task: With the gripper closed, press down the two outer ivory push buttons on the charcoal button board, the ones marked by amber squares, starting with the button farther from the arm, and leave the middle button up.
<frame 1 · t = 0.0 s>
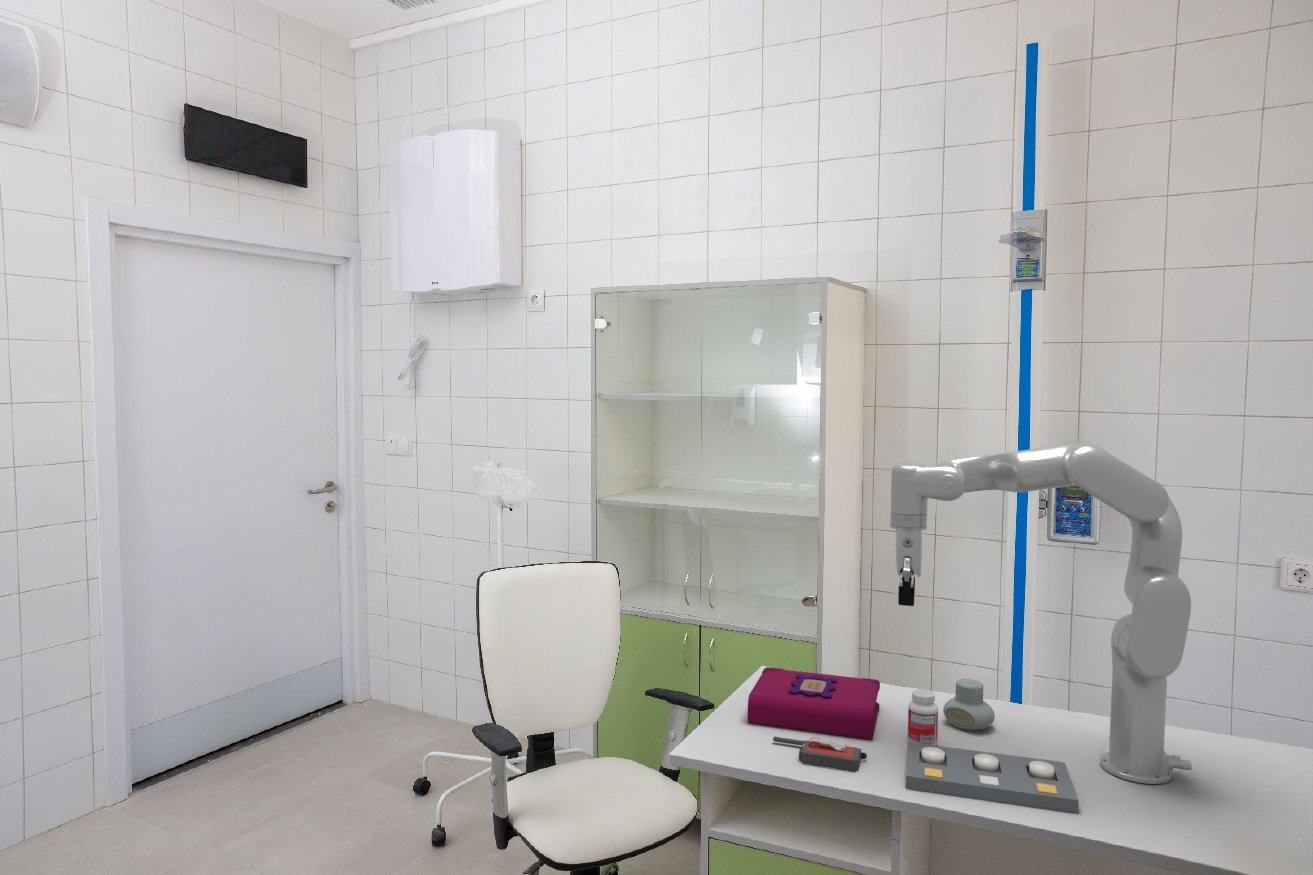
hand: (906, 599, 180), 31 cm above the table, tool pointing down, fingers open, 9 cm apart
walkie-talkie: (816, 759, 174), on the table
near button: (1041, 770, 162), point 3 cm above the table, slide at 0.0 cm
button board: (986, 781, 164), on the table
book: (815, 717, 196), on the table
far button: (933, 755, 168), point 3 cm above the table, slide at 0.0 cm
middle button: (986, 762, 165), point 3 cm above the table, slide at 0.0 cm
air freshener: (968, 726, 190), on the table
pill bottle: (922, 743, 181), on the table
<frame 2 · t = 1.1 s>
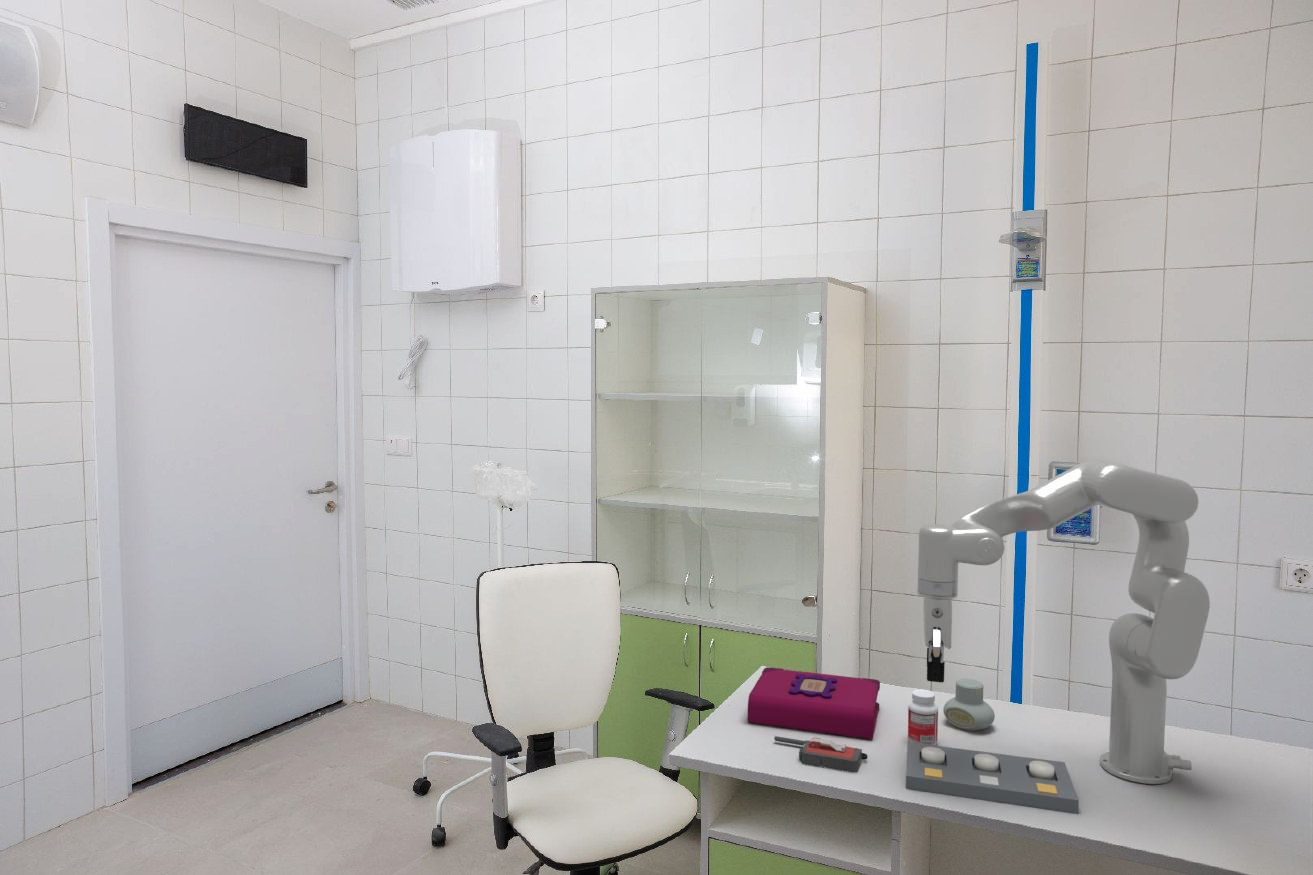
hand: (935, 673, 167), 20 cm above the table, tool pointing down, fingers open, 7 cm apart
nothing on the table moved.
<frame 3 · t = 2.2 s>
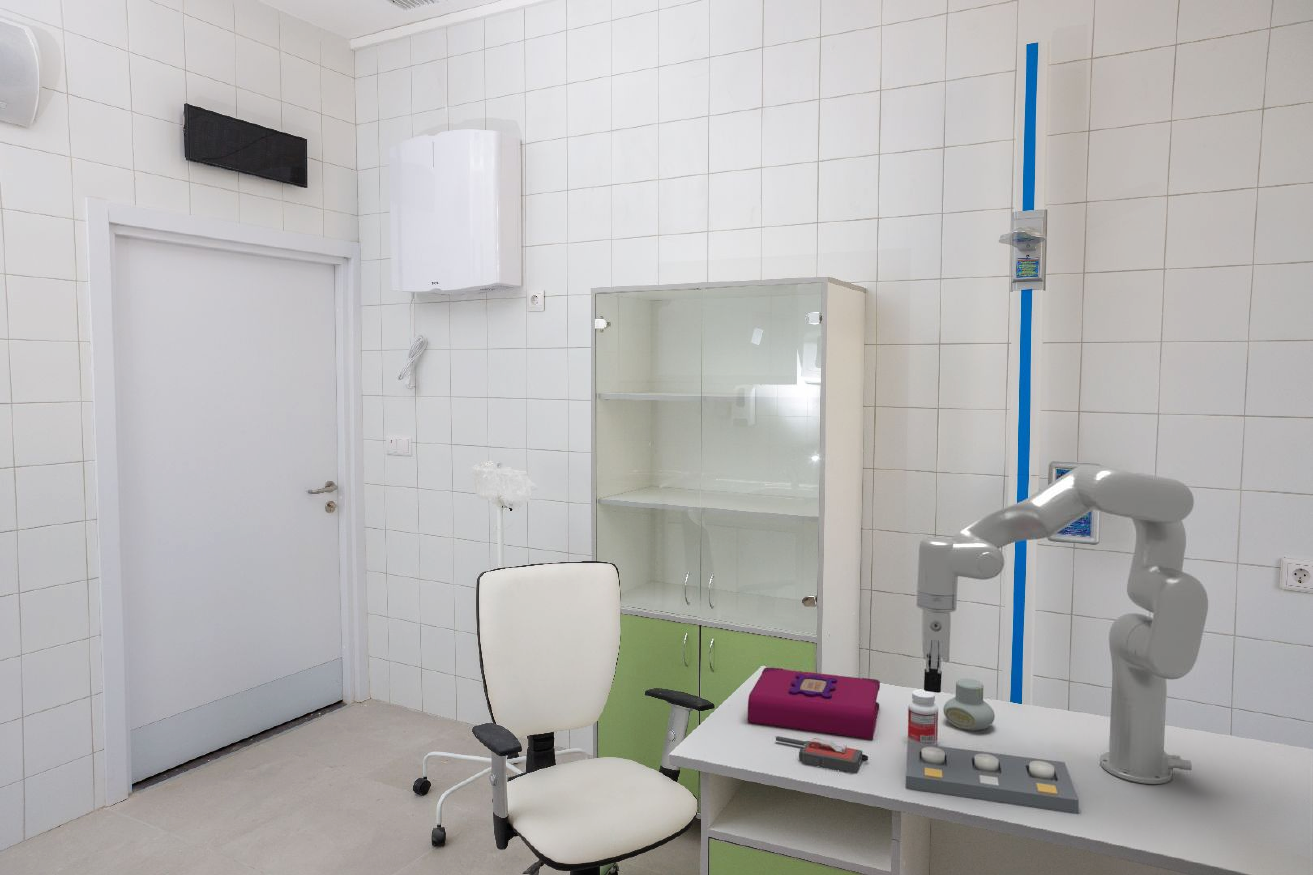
hand: (932, 690, 167), 16 cm above the table, tool pointing down, fingers closed
nothing on the table moved.
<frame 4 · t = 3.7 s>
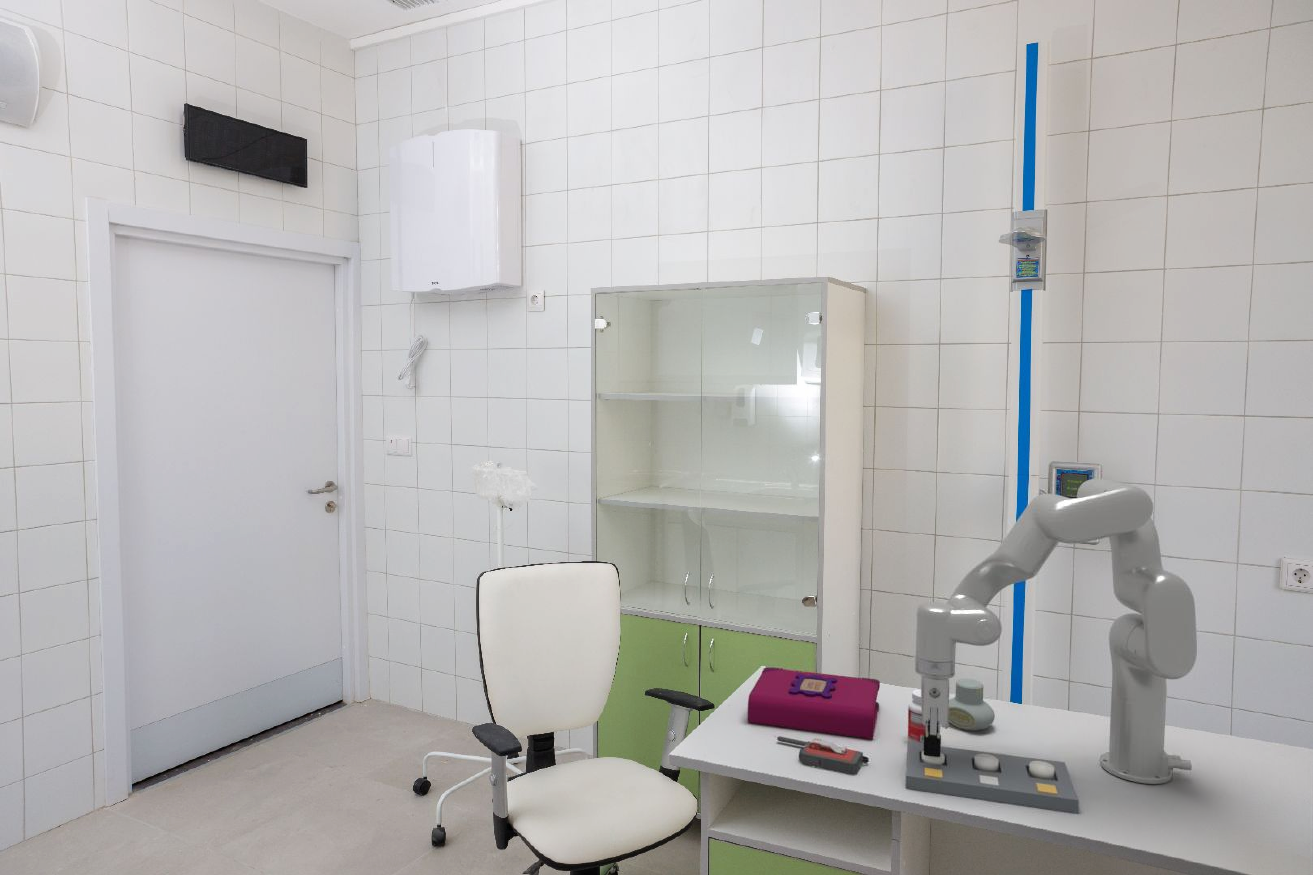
hand: (931, 754, 168), 3 cm above the table, tool pointing down, fingers closed
far button: (932, 758, 168), point 2 cm above the table, slide at 0.6 cm, touching gripper
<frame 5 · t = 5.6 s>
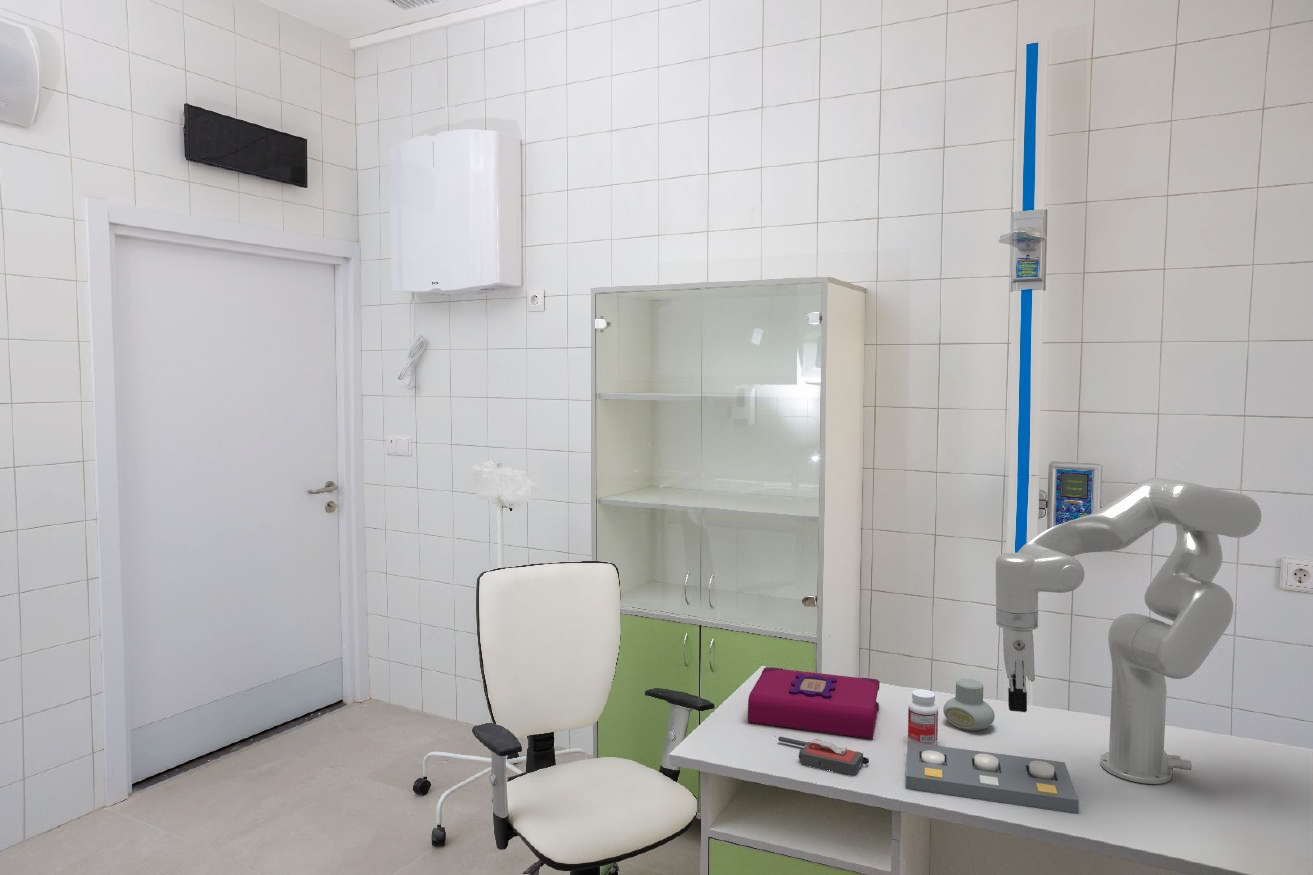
hand: (1017, 709, 163), 14 cm above the table, tool pointing down, fingers closed
far button: (932, 759, 168), point 2 cm above the table, slide at 0.7 cm
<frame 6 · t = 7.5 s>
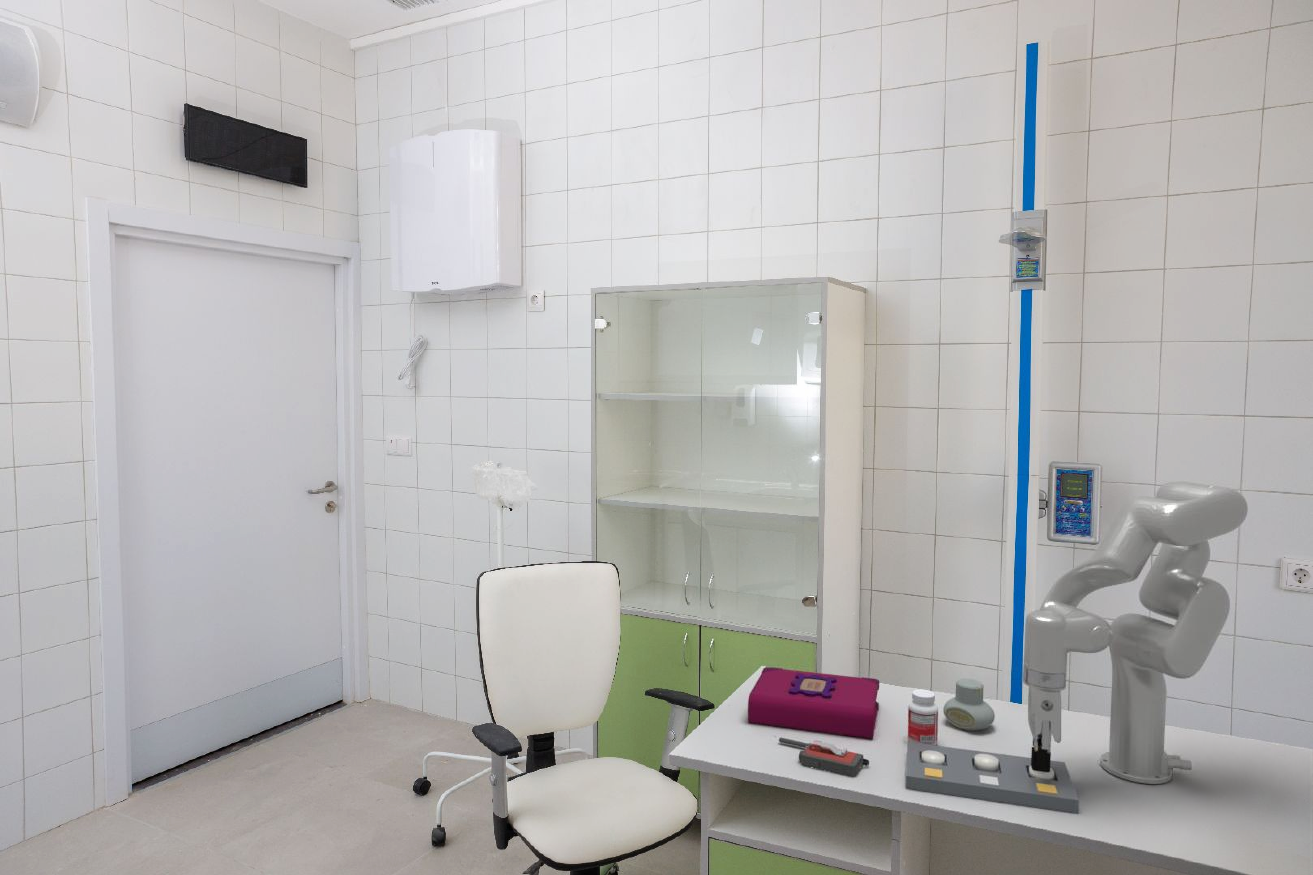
hand: (1040, 769, 162), 3 cm above the table, tool pointing down, fingers closed
near button: (1041, 773, 162), point 2 cm above the table, slide at 0.7 cm, touching gripper
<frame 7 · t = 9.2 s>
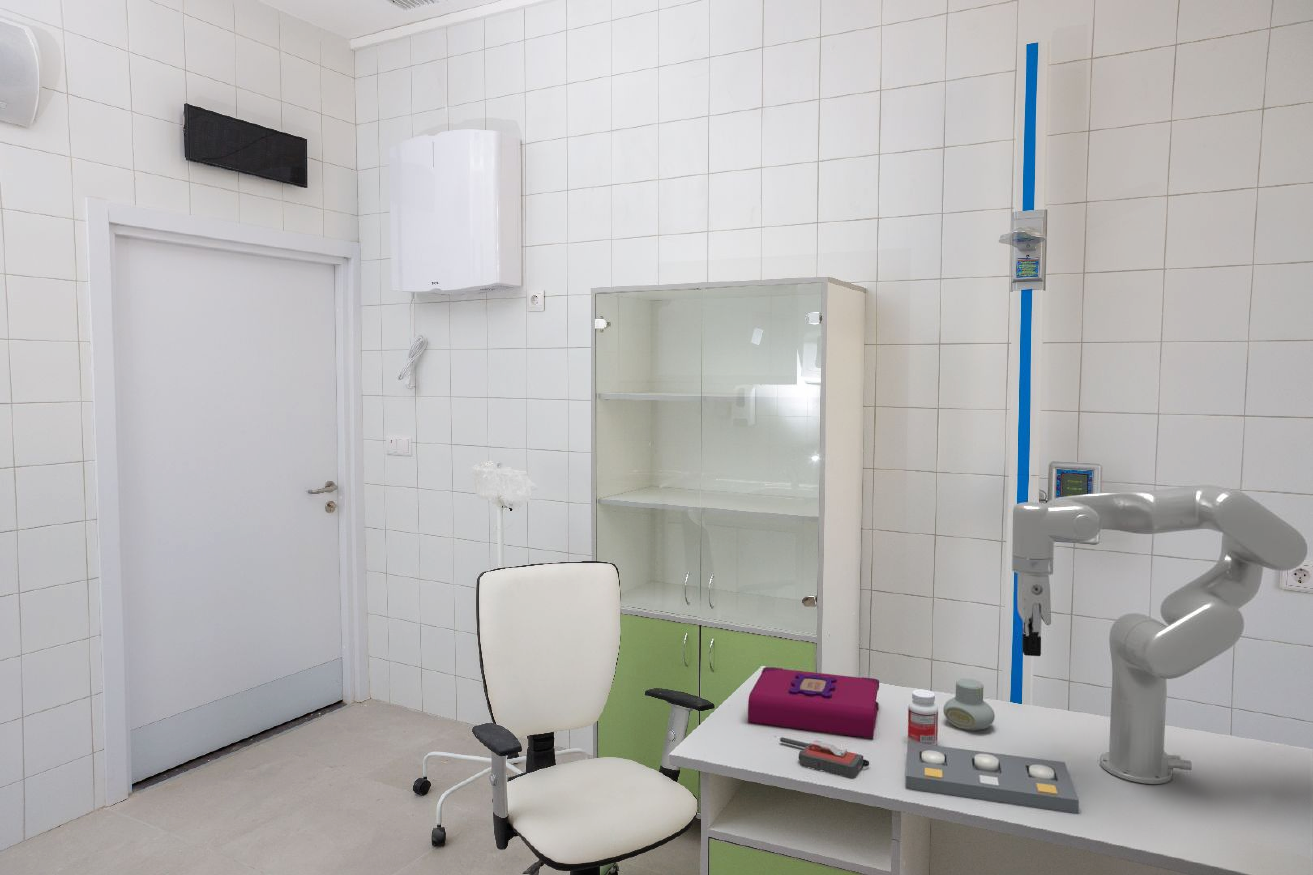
hand: (1031, 654, 168), 23 cm above the table, tool pointing down, fingers closed
near button: (1041, 774, 162), point 2 cm above the table, slide at 0.8 cm
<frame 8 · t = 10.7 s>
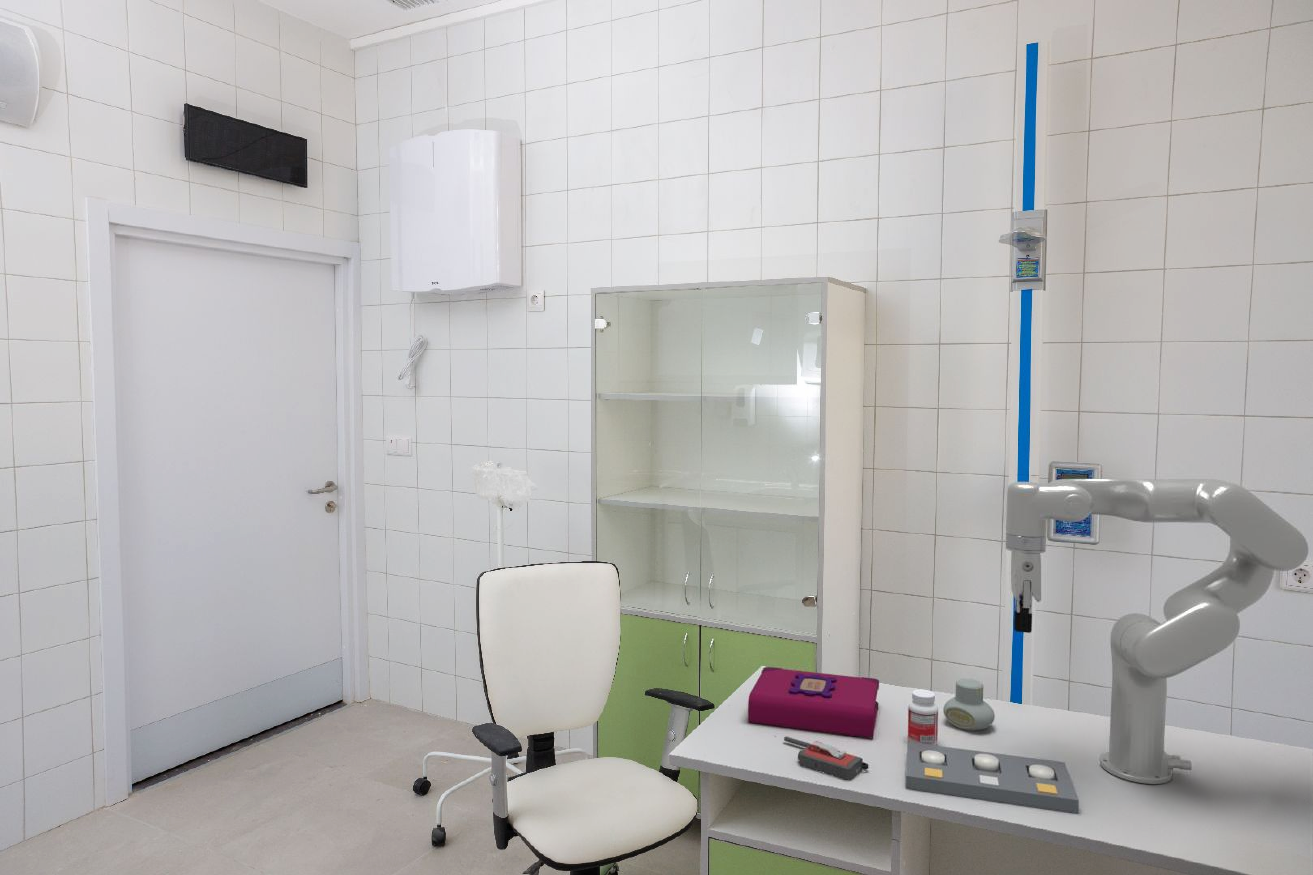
hand: (1022, 630, 171), 27 cm above the table, tool pointing down, fingers closed
at the end: far button slide at 0.7 cm; near button slide at 0.8 cm; middle button slide at 0.0 cm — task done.
